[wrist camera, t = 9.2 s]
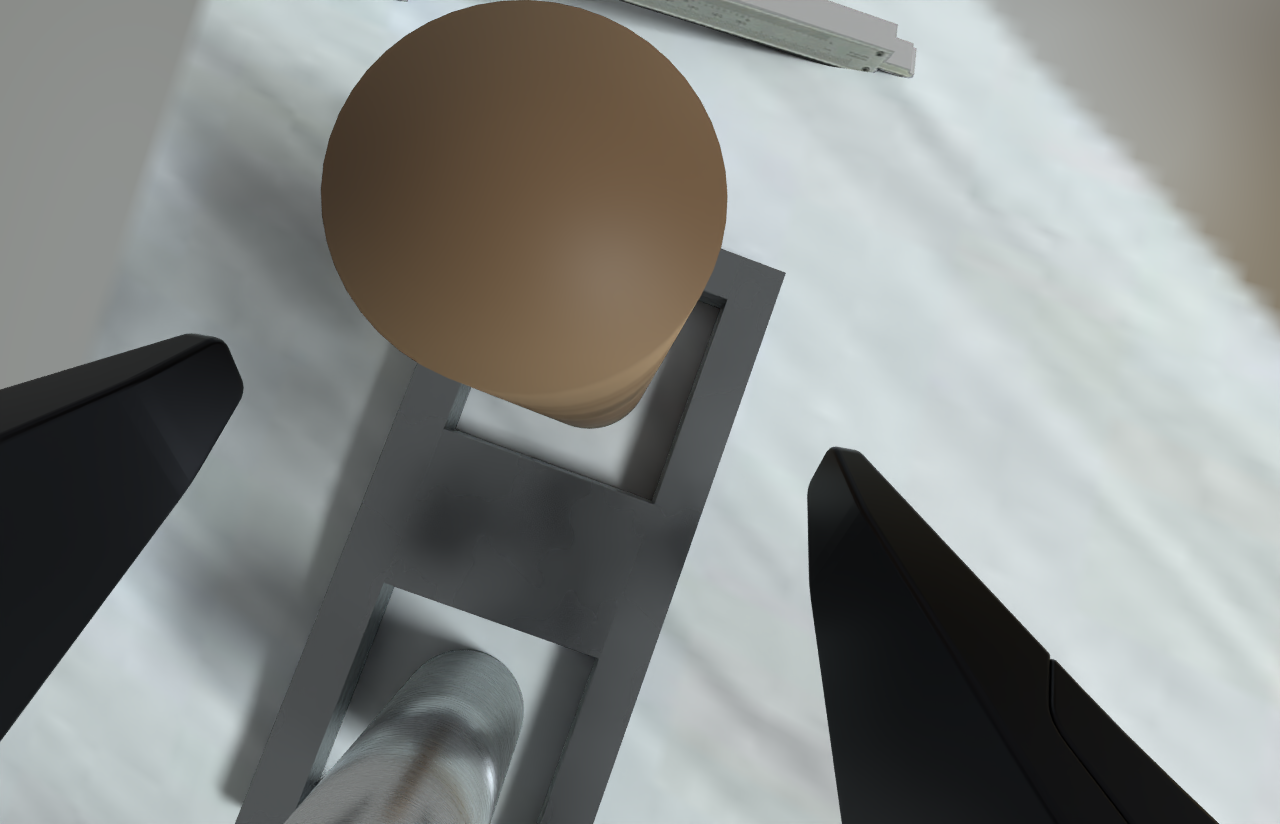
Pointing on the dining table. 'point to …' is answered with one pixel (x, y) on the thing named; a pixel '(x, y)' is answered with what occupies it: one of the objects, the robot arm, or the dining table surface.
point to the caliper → (801, 30)
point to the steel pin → (428, 750)
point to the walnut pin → (527, 205)
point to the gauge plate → (519, 558)
